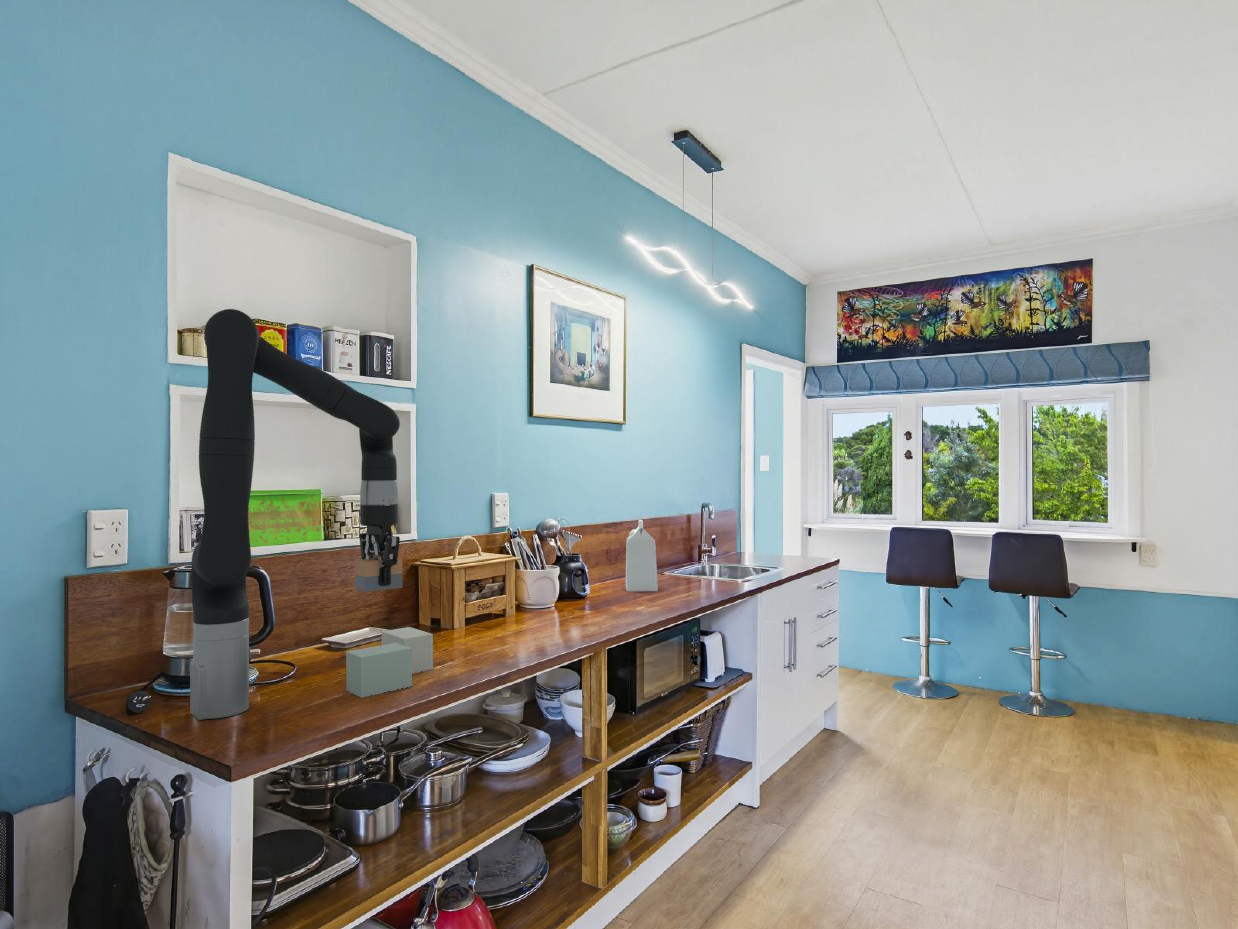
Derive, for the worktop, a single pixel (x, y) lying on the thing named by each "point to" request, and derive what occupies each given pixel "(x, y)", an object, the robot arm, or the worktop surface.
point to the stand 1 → (378, 669)
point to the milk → (641, 561)
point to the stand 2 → (413, 646)
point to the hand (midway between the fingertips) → (378, 583)
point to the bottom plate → (376, 583)
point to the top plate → (375, 567)
